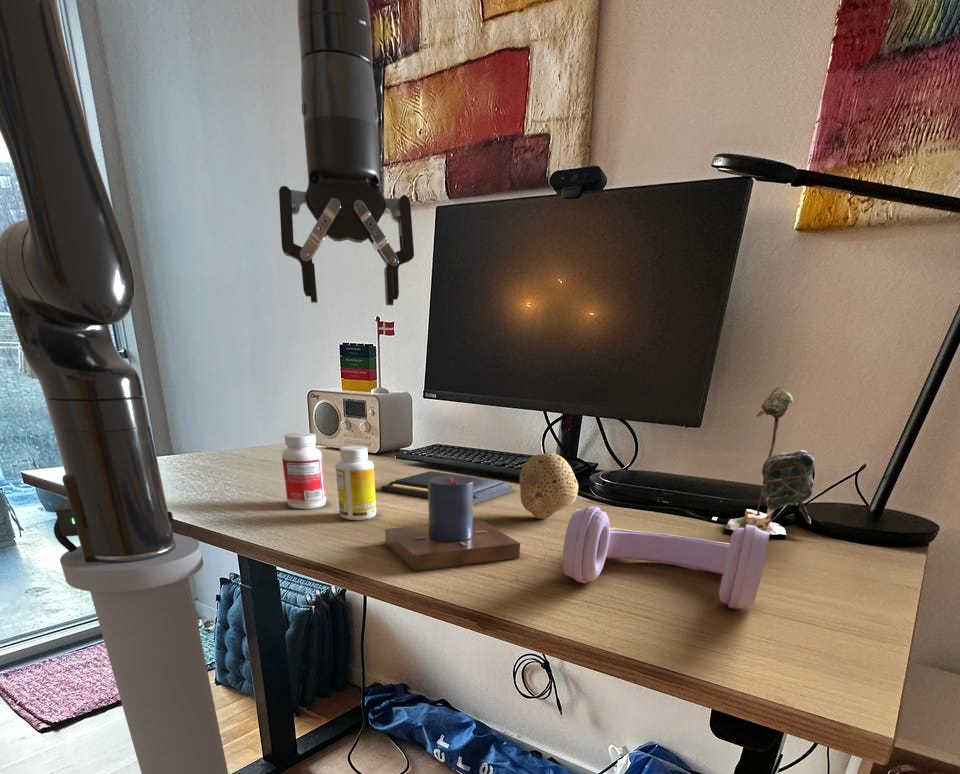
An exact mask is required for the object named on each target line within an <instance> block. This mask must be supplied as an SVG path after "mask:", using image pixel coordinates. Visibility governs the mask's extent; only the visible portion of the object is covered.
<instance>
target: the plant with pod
mask: <svg viewBox="0 0 960 774" xmlns="http://www.w3.org/2000/svg"><path fill="white" fill-rule="evenodd" d="M793 401H794V397H793V395H792V394H790V392H788V391H786V390H785V389H783V388H782V387H780V386H777V387H774V388H773V389H772V390H771V392H770V393H769V394H768V396H767V397H766V398H765V399H764V401H763V402H762V404H761V410H760V411H759V412H758V413H757V414H756V418H758V419H759V418H761V417H762V415H766V416H772V417H773V418H774V421H773V422H774V423H773V431H772V434H773V435H772V439H771V445H770V449H769V453H768V457H767V459H766V460H765V461H764V463H763V466H762V469H761V475H762V477H763V478H762V487H761V492H760V496H759V501H758V506H757V510H754V509H748V508H747V509H746V510H745V511H744V516H743V517H742V516H741V517H739V518H728V521H727V523H726V524H727V525H726V526H725V527H724V528H725V529H727V530H732V531H735V530H736V529H738V528H746V525H752V526H756V527H757V528H758V529H760V530H762V531H764V532H767V533H769V536H776V535H779V536H787V533H786V531H787V530H786V529H785V527H783V526H782V525H781V524H779V523H777V522H772V519H773V516H774V514H775V512H776V510H778V509H781V508H784V507H786V506H788V505H790V506H795V505H796V504H797V505H798V508H799V510H800V512H801V515H802V516H803V517H804V520H805V521H806V523H807V524H808V525H811V524H812V519H811V518H810V516H809V513H808V511H807V508H806V506H805V504H804V502H805V501H807V500H809V499H810V498H811V496H812V495H813V487H814V480H813V474H814V471H815V458H814V455H815V453H810V452H808V451H806V450H803V449H799V450H797V449H796V450H791V451H785V452H780V453H778V454H773V452H774V448H775V444H776V436H777V431H778V427H779V422H780V419H781V418H782V417H784V416H785V415H786V413H787V412H788V410H789V408H790V406H791V405H792V404H793ZM763 499H764V501H765V503H766V508H767V510H766V513H764V512H761V511H759V510H760V507H761V505H762V501H763Z"/></svg>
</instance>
